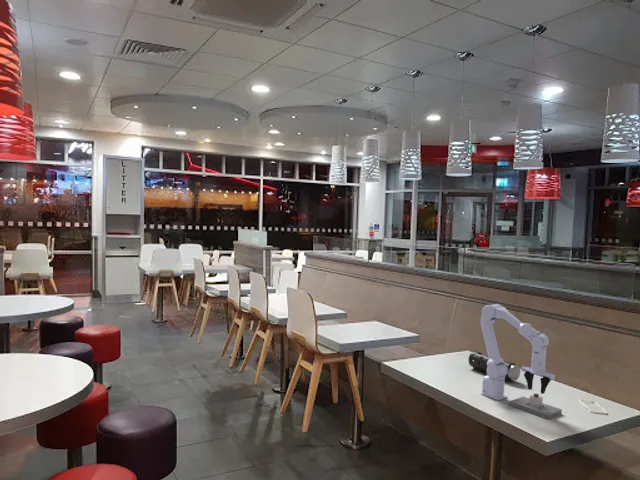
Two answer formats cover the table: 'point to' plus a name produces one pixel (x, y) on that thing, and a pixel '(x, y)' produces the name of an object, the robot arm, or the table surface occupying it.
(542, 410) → the charging plate
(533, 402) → the charger plug
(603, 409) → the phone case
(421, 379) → the table surface
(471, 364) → the muzzle brake
